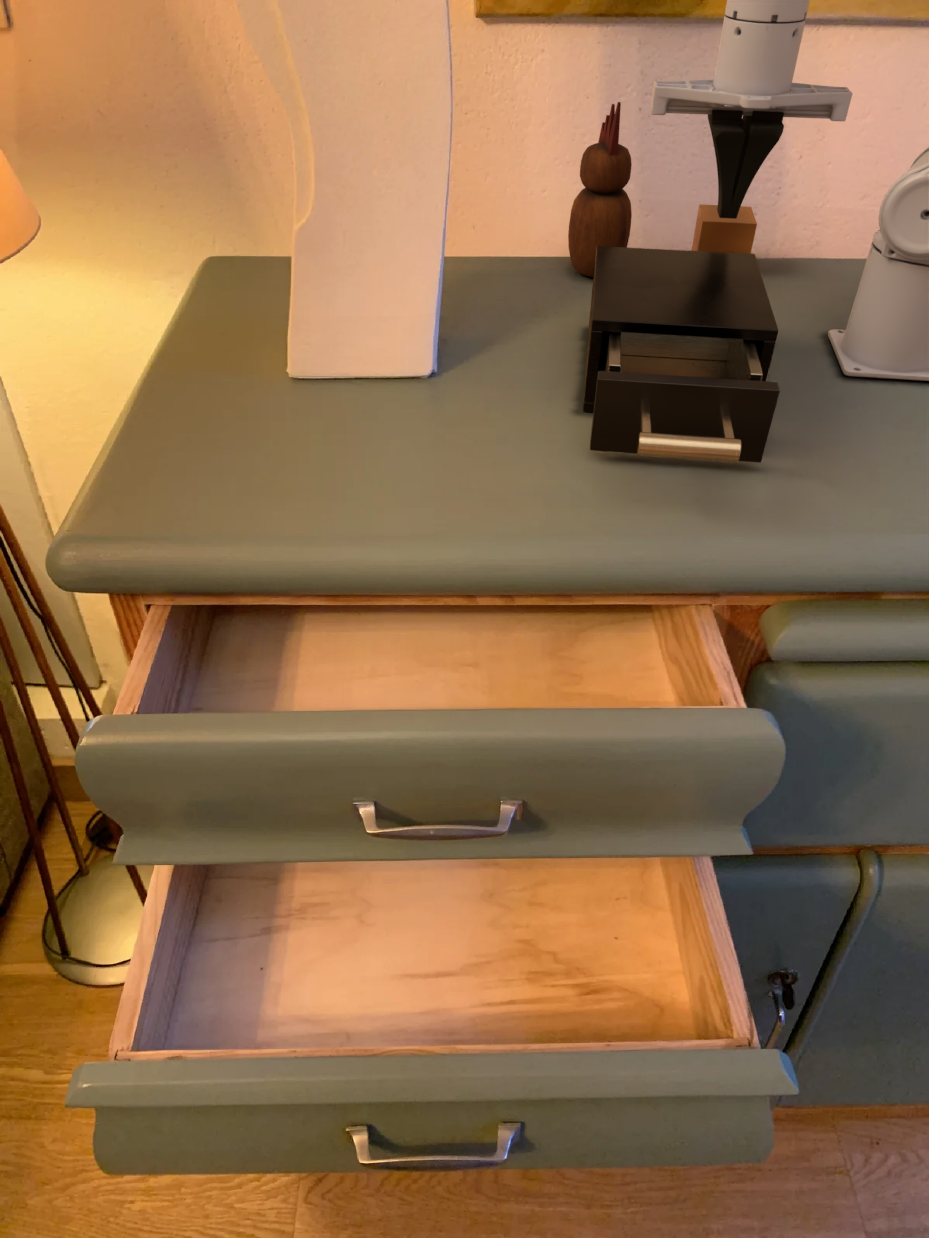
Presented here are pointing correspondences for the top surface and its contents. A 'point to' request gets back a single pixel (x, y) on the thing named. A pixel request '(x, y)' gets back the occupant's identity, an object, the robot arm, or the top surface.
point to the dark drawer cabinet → (676, 301)
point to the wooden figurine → (601, 198)
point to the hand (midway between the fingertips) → (726, 214)
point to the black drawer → (682, 398)
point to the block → (724, 231)
